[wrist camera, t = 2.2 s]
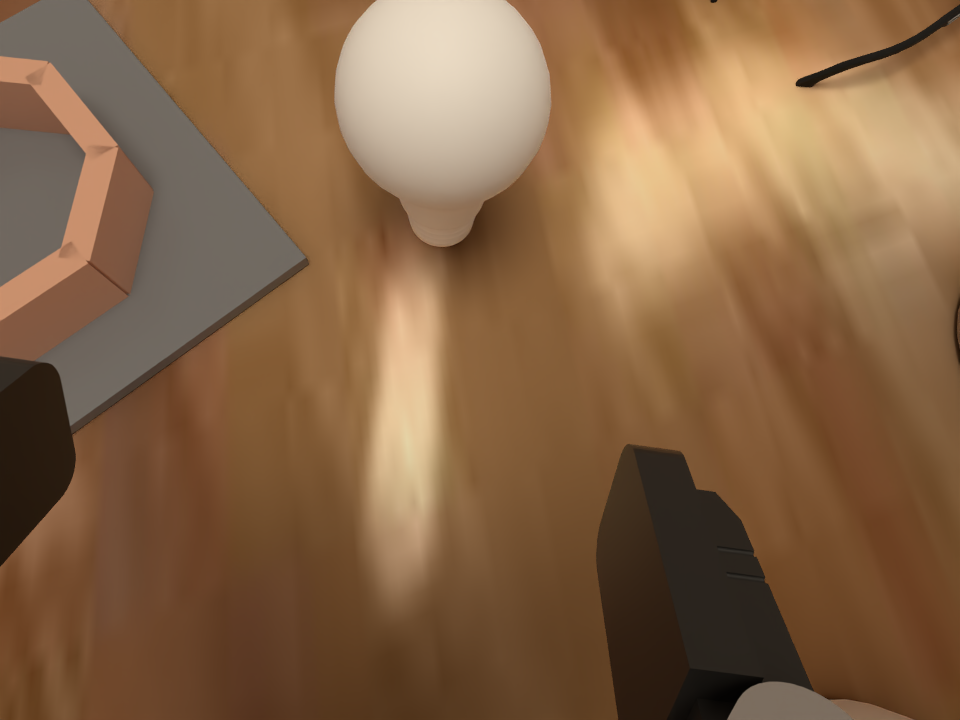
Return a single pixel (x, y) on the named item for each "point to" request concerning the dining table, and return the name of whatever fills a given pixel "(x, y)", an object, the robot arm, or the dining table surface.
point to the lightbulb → (442, 106)
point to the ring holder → (114, 214)
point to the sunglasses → (843, 66)
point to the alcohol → (866, 711)
